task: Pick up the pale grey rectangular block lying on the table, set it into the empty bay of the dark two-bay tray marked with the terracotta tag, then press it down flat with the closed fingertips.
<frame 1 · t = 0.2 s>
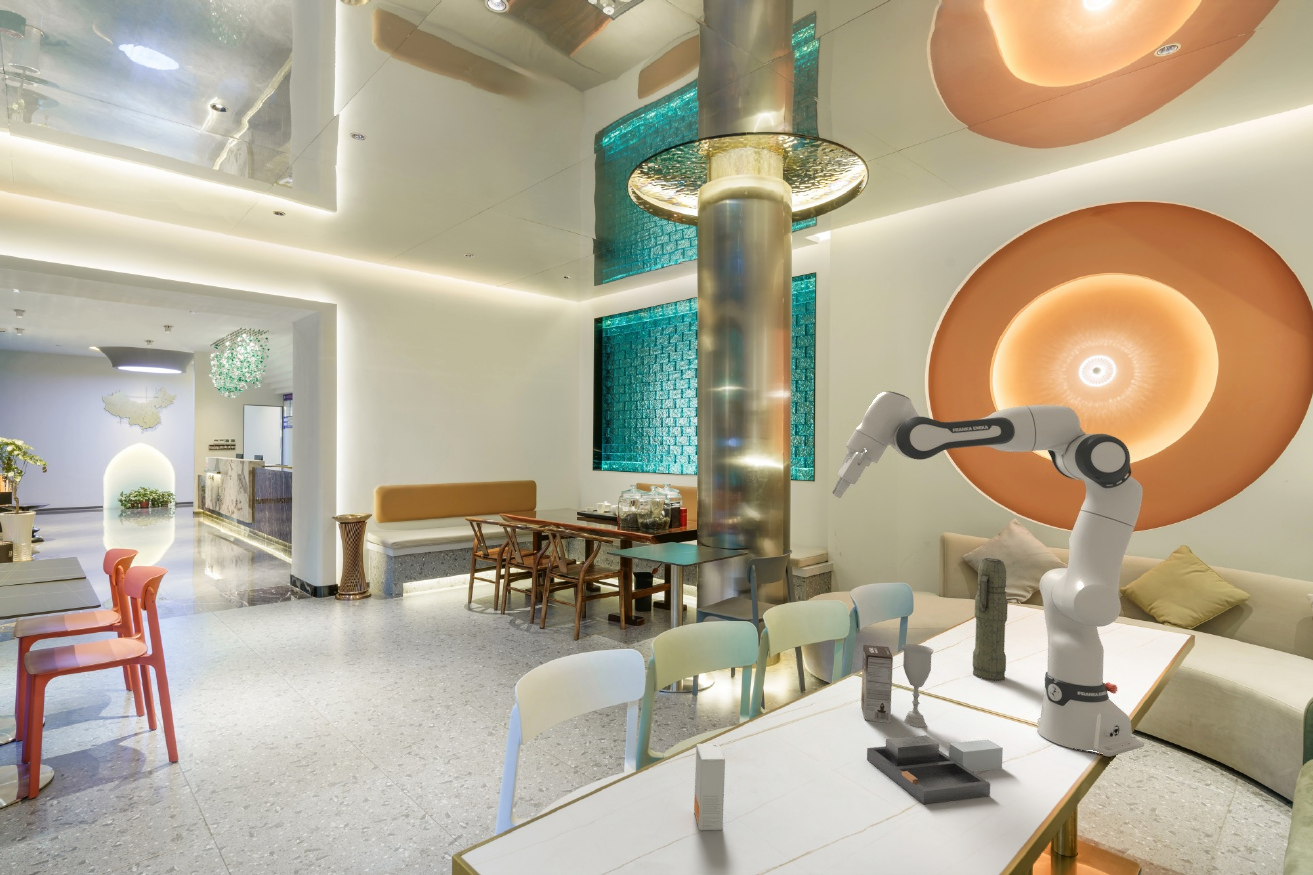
hand: (835, 495, 168), 54 cm above the table, tool tilted 30°, fingers open, 8 cm apart
thermos: (988, 676, 198), on the table
skincare box: (707, 821, 114), on the table
pale grey rectangular block: (975, 766, 139), on the table
chalice: (914, 723, 160), on the table
tray: (925, 776, 133), on the table
coffee box: (875, 715, 164), on the table
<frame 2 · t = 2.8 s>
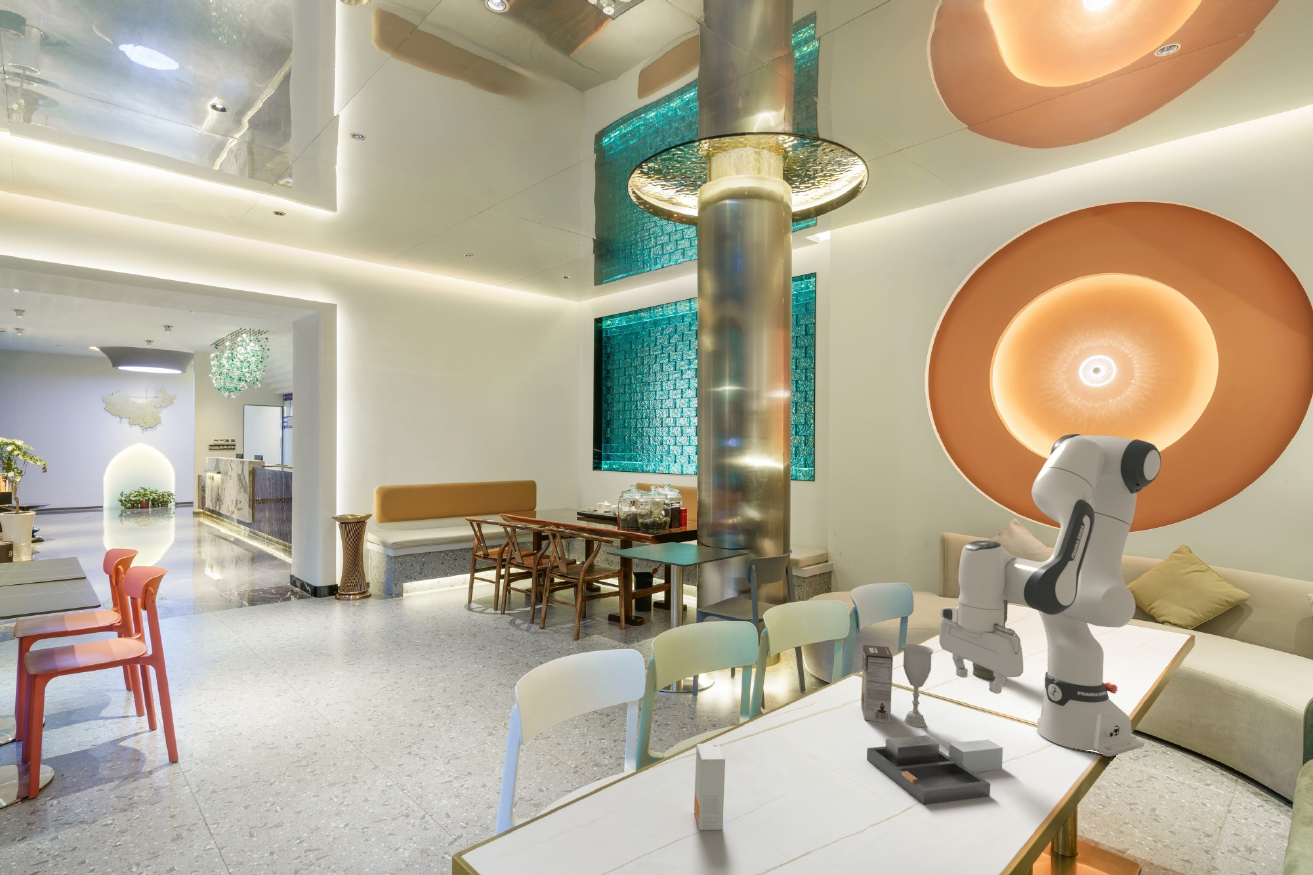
hand: (977, 684, 139), 17 cm above the table, tool pointing down, fingers open, 8 cm apart
nothing on the table moved.
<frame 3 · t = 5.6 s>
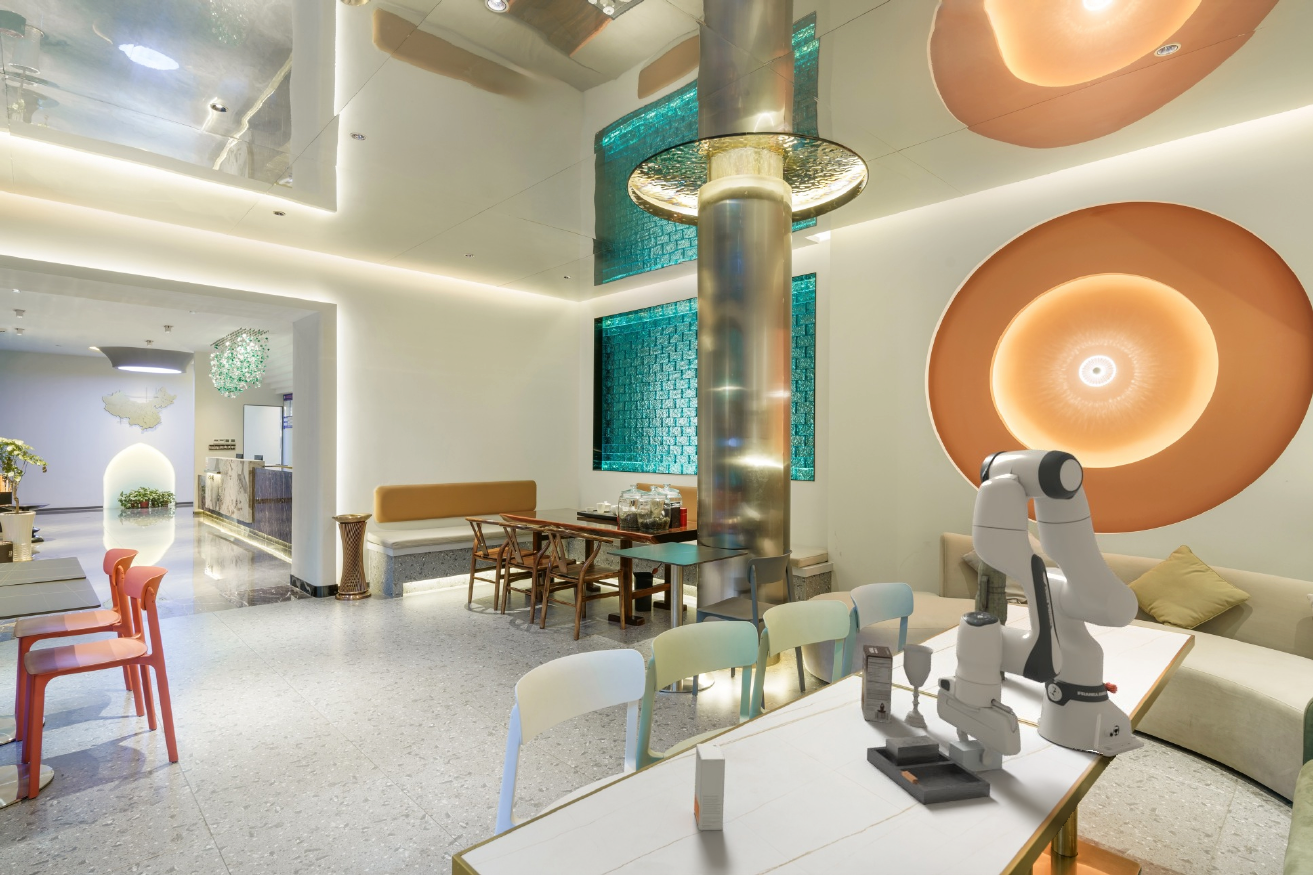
hand: (975, 757, 139), 2 cm above the table, tool pointing down, fingers closed on pale grey rectangular block, 4 cm apart
pale grey rectangular block: (975, 765, 139), on the table, touching gripper
everything else where it was.
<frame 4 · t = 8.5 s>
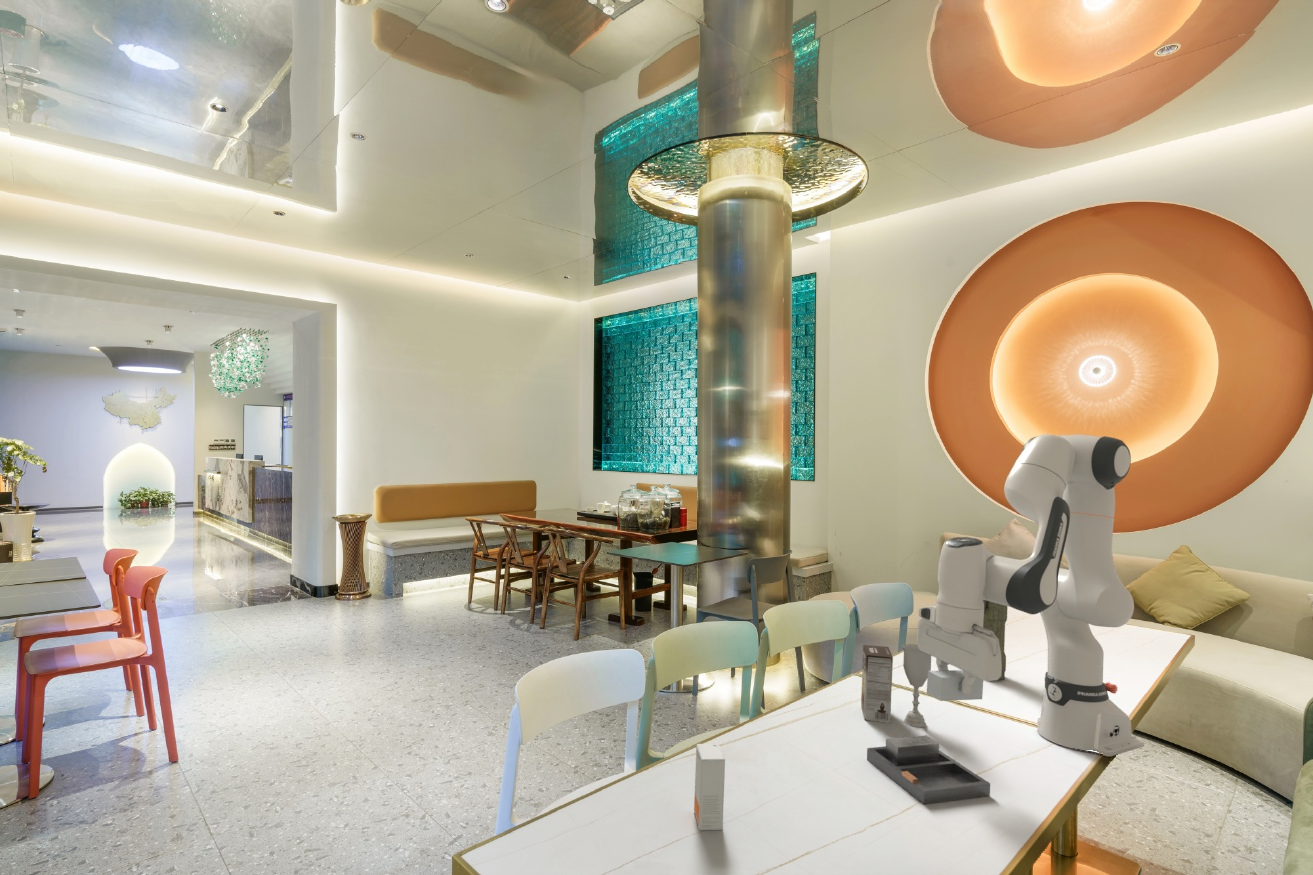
hand: (954, 687, 133), 18 cm above the table, tool pointing down, fingers closed on pale grey rectangular block, 4 cm apart
pale grey rectangular block: (954, 696, 133), point 17 cm above the table, touching gripper
everything else where it was.
when the fingers open (3 cm above the table, at t = 11.5 s): pale grey rectangular block stays where it is, resting on tray.
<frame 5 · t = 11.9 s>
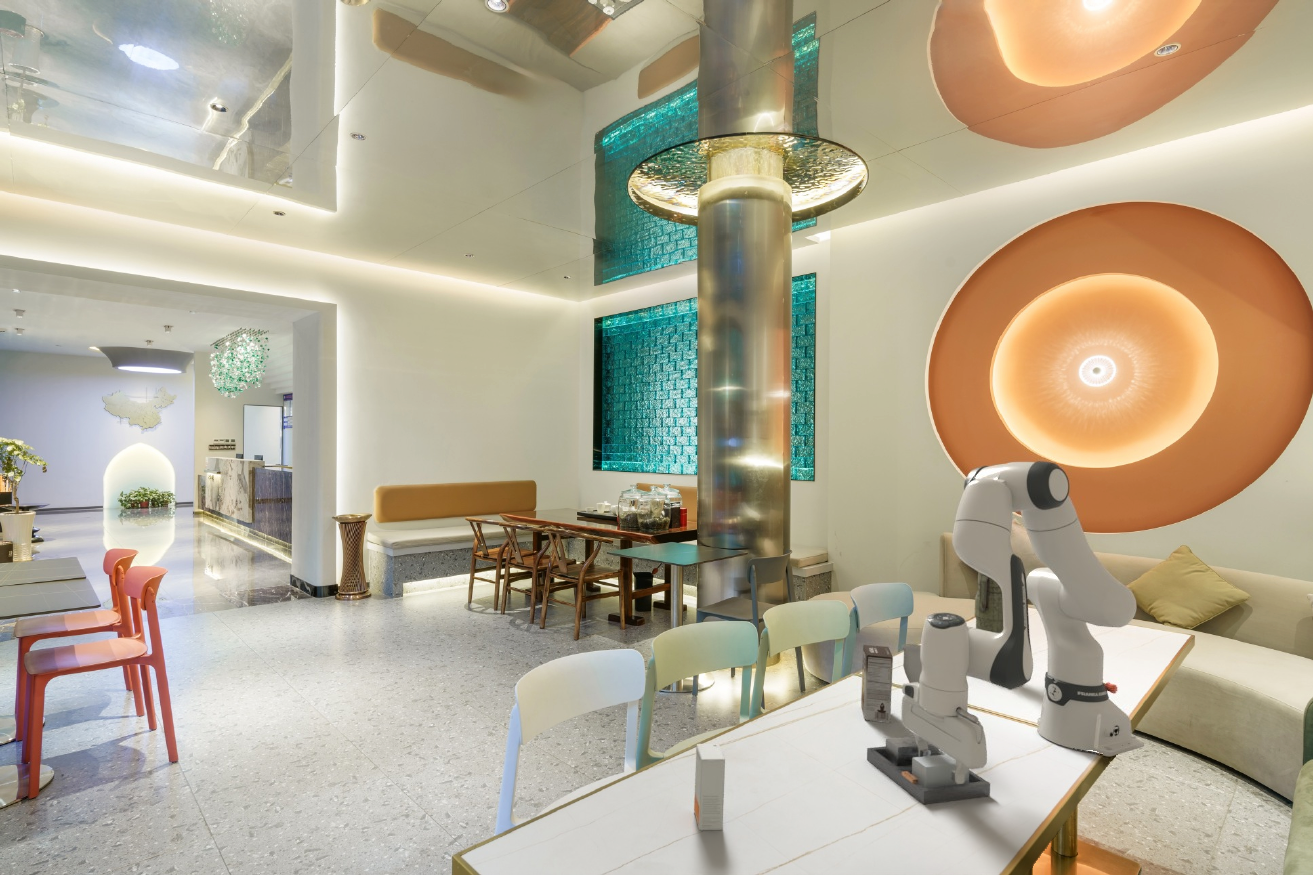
hand: (940, 769, 129), 3 cm above the table, tool pointing down, fingers open, 8 cm apart
pale grey rectangular block: (940, 783, 129), point 1 cm above the table, touching tray
everything else where it was.
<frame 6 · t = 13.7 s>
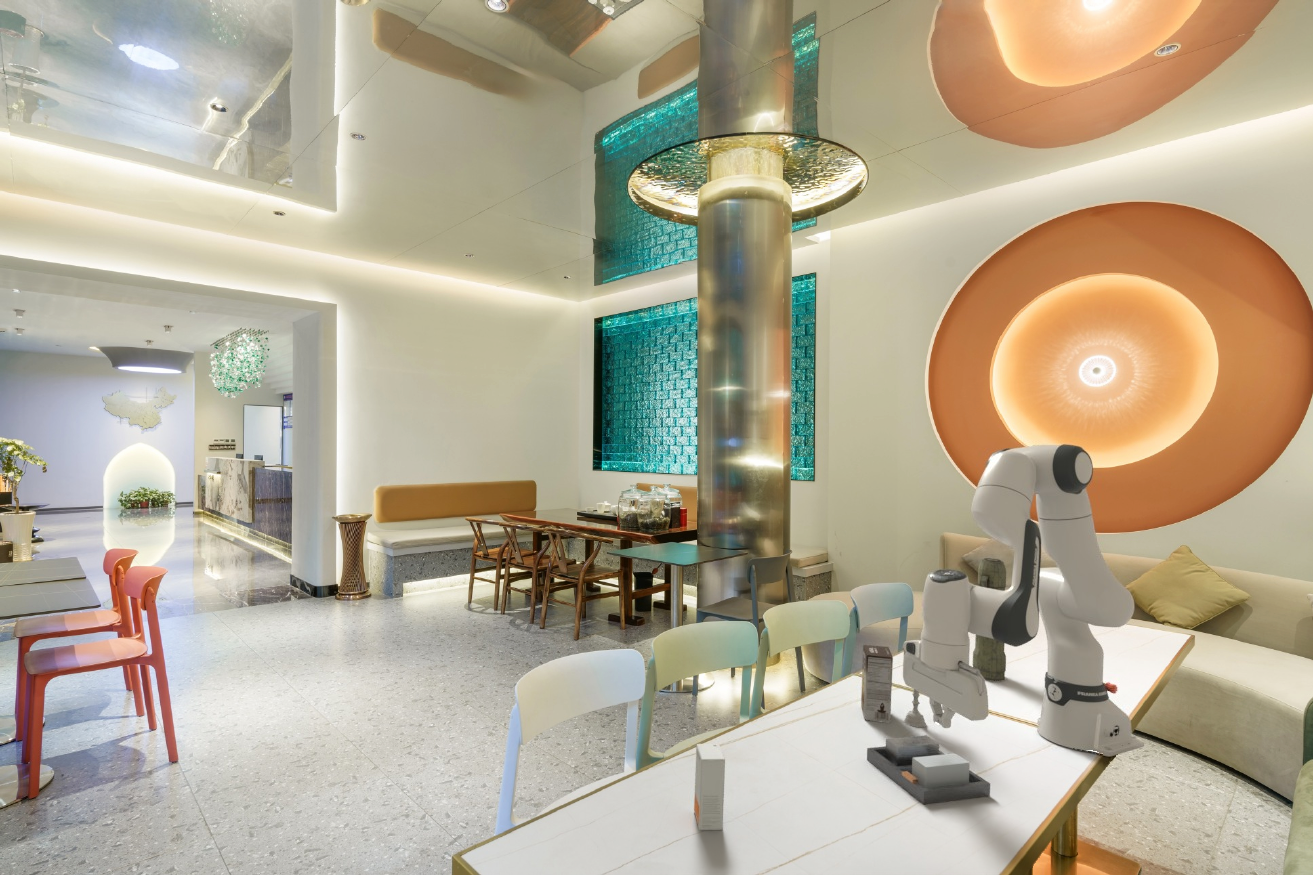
hand: (941, 725, 129), 12 cm above the table, tool pointing down, fingers closed
nothing on the table moved.
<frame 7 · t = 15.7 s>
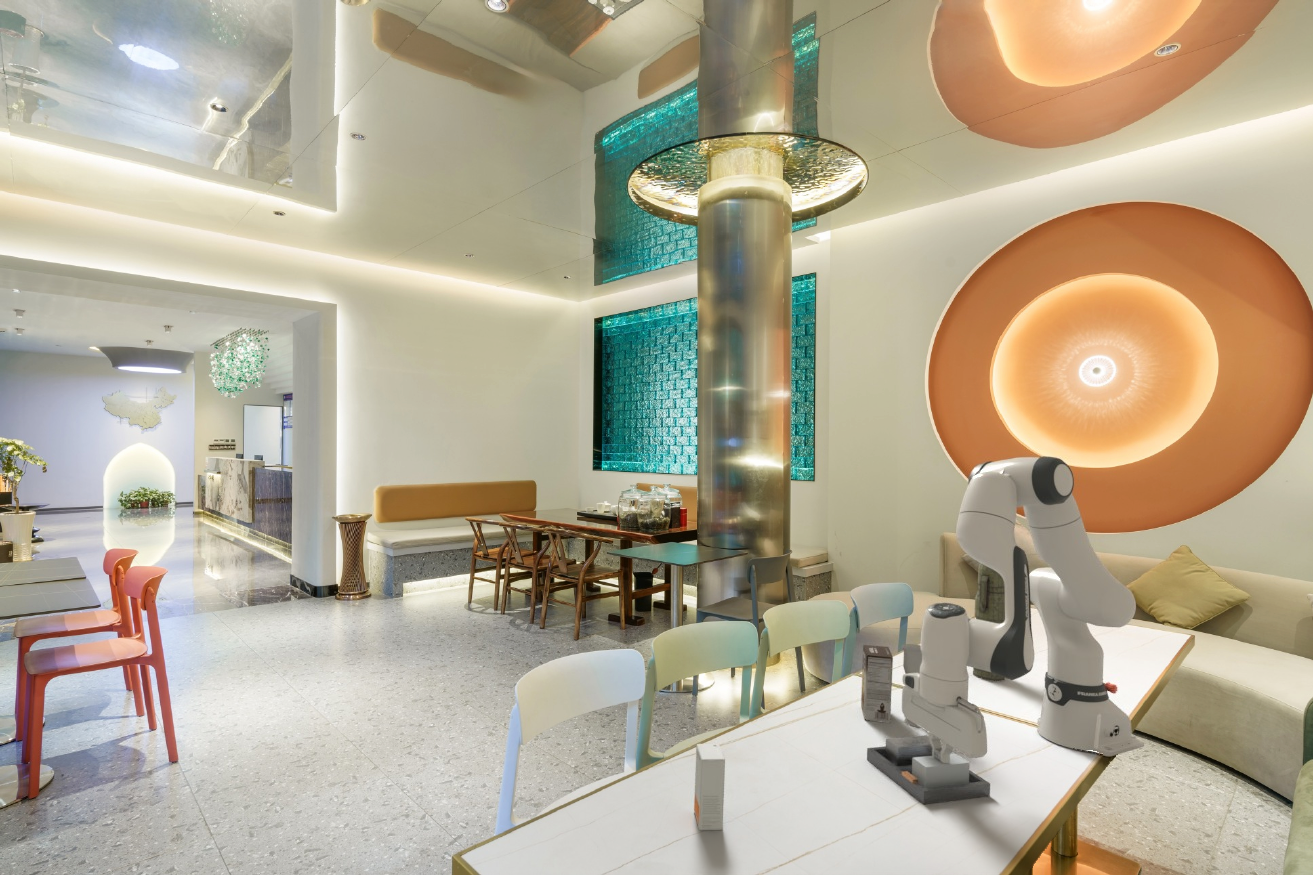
hand: (940, 759, 129), 5 cm above the table, tool pointing down, fingers closed, pressing on pale grey rectangular block
pale grey rectangular block: (940, 783, 129), point 1 cm above the table, touching gripper, tray
everything else where it was.
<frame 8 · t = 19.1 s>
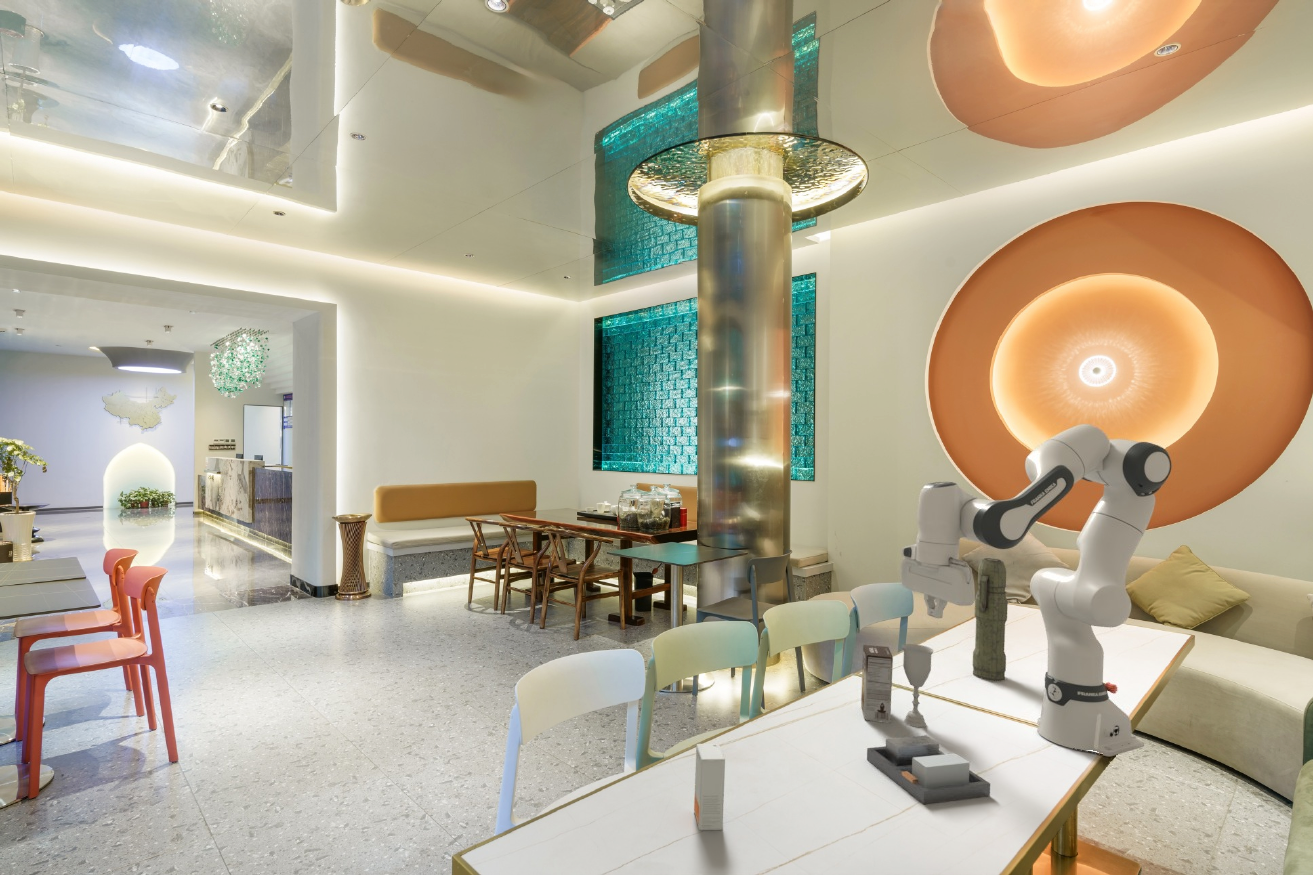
hand: (934, 616, 147), 29 cm above the table, tool pointing down, fingers closed
pale grey rectangular block: (940, 783, 129), point 1 cm above the table, touching tray
everything else where it was.
at the end: pale grey rectangular block 0.0 cm from the target spot on the tray, point 0.8 cm above the tray's base; pale grey rectangular block tilted 0°; the gripper is holding nothing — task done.
